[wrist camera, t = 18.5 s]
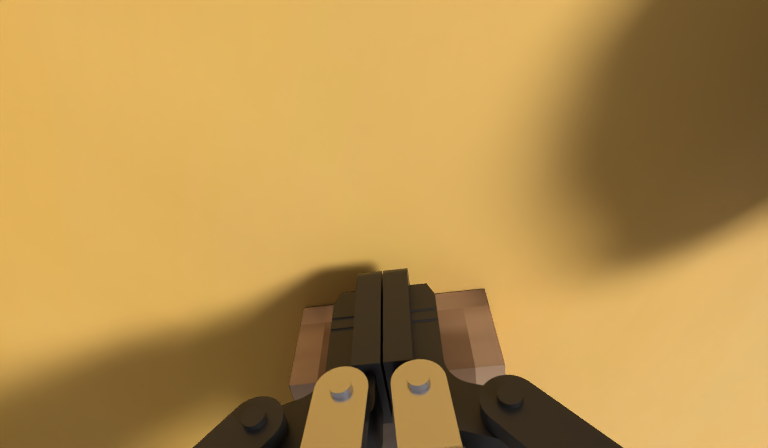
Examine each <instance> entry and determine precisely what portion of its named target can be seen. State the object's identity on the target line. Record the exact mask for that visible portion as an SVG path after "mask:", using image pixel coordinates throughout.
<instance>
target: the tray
mask: <svg viewBox="0 0 768 448" xmlns="http://www.w3.org/2000/svg"><path fill="white" fill-rule="evenodd" d="M435 298H436V305H437V313H438V321H439V328H440V335H441V343H442V350H443V358H444V363H445V365H446V367H447V369H448V370H449V371H450V372H451V373H452V374H453V375H454V376H455V377H457V378H459V379H460V380H463V381H465V382H469V383H474V384H479V385H484V384H485V383H486V382H487V381H488V380H490V379H492V378H494V377H496V376H500V375H505V363H504V359H503V356H502V352H501V348H500V345H499V341H498V337H497V333H496V330H495V326H494V322H493V319H492V315H491V311H490V307H489V304H488V300H487V296H486V293H485V289H478V290H469V291H459V292H450V293H441V294H435ZM333 306H334V305H328V306H319V307H310V308H304V311H303V316H302V321H301V326H300V331H299V336H298V341H297V346H296V352H295V357H294V362H293V367H292V372H291V377H290V382H289V387H290V390H291V393H292V396H293V399H294V401H295V400H298V399H300V398H303V397H305V396H306V395H308V394H310V393H311V392H312V391H314V387H315V385H316V383H317V381H318V380H319V378H320V377H321V376H322V375H323V374H325V369H326V361H327V353H328V346H329V338H330V332H331V322H332V314H333ZM392 418H393V423H388V424H383V448H397V438H396V429H395V420H394V415H393V410H392Z"/></svg>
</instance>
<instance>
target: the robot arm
mask: <svg viewBox="0 0 768 448" xmlns="http://www.w3.org/2000/svg"><path fill="white" fill-rule="evenodd" d="M392 410H393V415H394V420H395V429H396V438H397V448H623V447H621V446H620V445H619V444H617V443H616V442H614V441H613V440H611V439H610V438H609V437H607V436H606V435H604V434H603V433H601V432H600V431H599V430H597V429H596V428H594V427H593V426H592V425H590V424H589V423H587V422H586V421H584V420H583V419H582V418H580V417H579V416H577V415H576V414H574V413H573V412H572V411H570V410H569V409H567V408H566V407H565V406H563V405H562V404H560V403H559V402H557V401H556V400H555V399H553V398H552V397H550V396H549V395H547V394H546V393H545V392H543V391H542V390H540V389H539V388H538V387H536V386H535V385H533V384H532V383H530V382H529V381H527V380H526V379H524V378H521V377H518V376H514V375H500V376H496V377H494V378H492V379H490V380H488V381H487V382H486V383H485V384H484V385H479V384H474V383H469V382H465V381H463V380H460V379H459V378H457V377H455V376H454V375H453V374H452V373H451V372H450V371H449V370H448V369H447V367H446V365H445V363H444V358H443V350H442V343H441V335H440V328H439V321H438V313H437V305H436V298H435V294H434V292H433V291H432V290H431V289H430V287H429V286H428V285H427V284H416V285H410V283H409V276H408V270H407V268H405V269H396V270H387V271H383V274H382V271H379V272H370V273H361V274H358V275H357V285H356V291H352V292H343V293H341V295H340V296H339V298H338V299H337V301H336V302H335V304H334V306H333V314H332V322H331V332H330V338H329V346H328V353H327V361H326V369H325V374H323V375H322V376H321V377H320V378H319V380H318V381H317V383H316V385H315V387H314V391H312V392H311V393H310V394H308V395H306V396H305V397H303V398H300V399H298V400H295V401H293V402H290V403H288V404H285V405H282V406H281V404H280V403H279V402H278V401H277V400H275V399H274V398H271V397H265V396H264V397H256V398H252V399H250V400H248V401H246V402H244V403H242V404H241V405H240V406H238V407H237V408H236V409H235V410H234V411H233V412H232V413H231V414H229V415H228V416H227V417H226V418H225V419H224V420H223V421H222V422H221V423H220V424H218V425H217V426H216V427H215V428H214V429H213V430H212V431H211V432H210V433H209V434H208V435H206V436H205V437H204V438H203V439H202V440H201V441H200V442H199V443H198V444H197V445H195V446H194V447H193V448H383V424H388V423H393V418H392Z"/></svg>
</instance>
